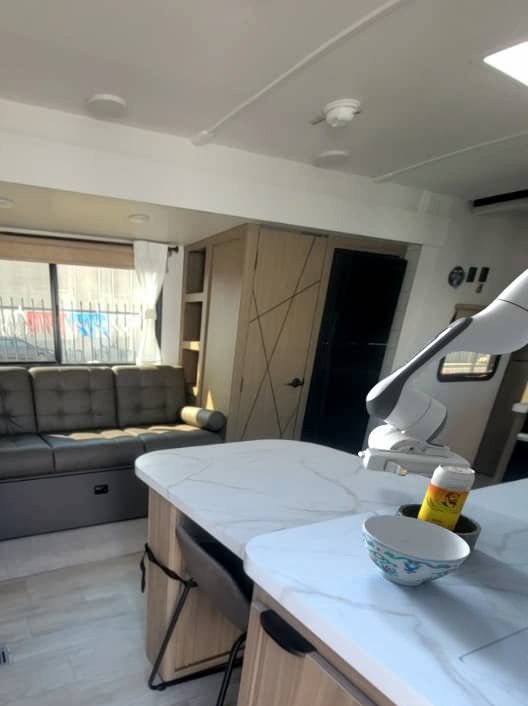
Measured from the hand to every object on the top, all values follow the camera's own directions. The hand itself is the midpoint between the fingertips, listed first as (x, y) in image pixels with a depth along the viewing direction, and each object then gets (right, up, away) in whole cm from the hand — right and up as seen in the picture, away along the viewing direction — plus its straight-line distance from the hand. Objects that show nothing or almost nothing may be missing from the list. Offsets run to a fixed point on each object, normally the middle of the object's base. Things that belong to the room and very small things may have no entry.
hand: (427, 475), depth 84 cm
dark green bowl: (-2, -14, -4) cm, 14 cm away
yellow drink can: (-2, -13, -4) cm, 14 cm away
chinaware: (-15, -19, -14) cm, 28 cm away
